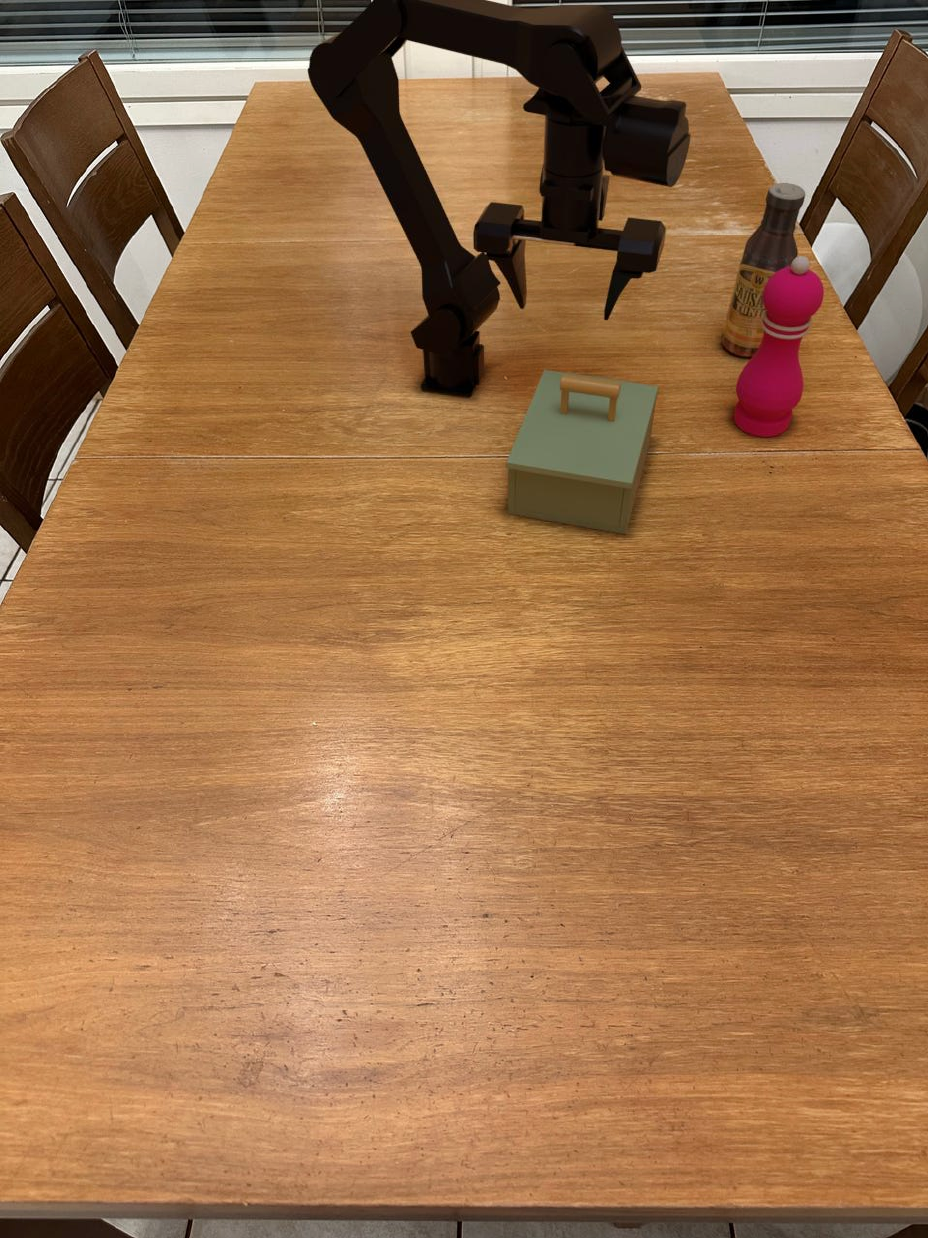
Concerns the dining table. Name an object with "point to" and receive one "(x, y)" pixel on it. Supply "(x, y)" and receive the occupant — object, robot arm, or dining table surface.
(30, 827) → the dining table surface
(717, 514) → the dining table surface
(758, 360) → the pepper mill
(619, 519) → the green box
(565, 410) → the lid
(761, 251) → the sauce bottle
